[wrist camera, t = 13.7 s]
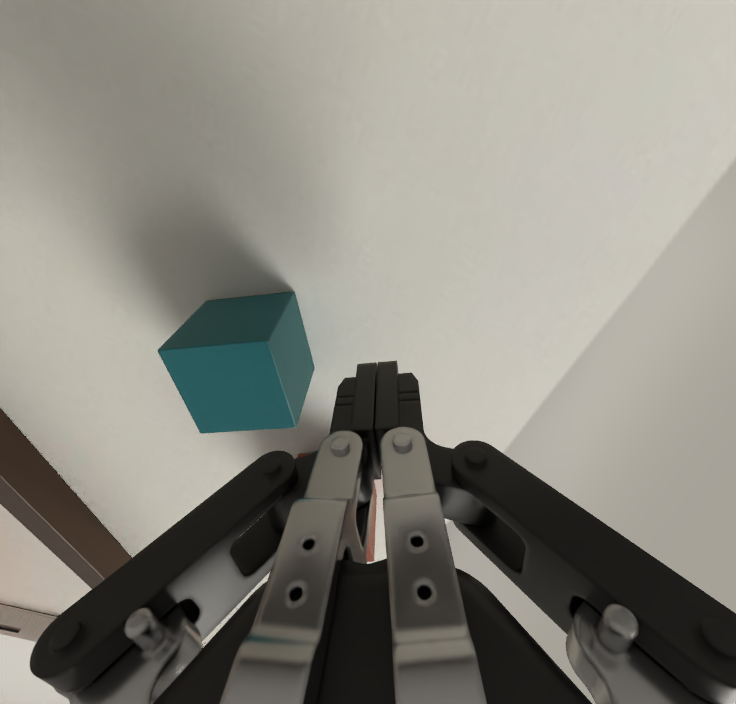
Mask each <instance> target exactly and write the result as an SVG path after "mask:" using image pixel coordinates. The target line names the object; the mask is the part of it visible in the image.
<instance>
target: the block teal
mask: <svg viewBox="0 0 736 704" xmlns="http://www.w3.org/2000/svg"><path fill="white" fill-rule="evenodd" d="M158 353H159V355H160V356H161V358H162V360H163V362H164V364H165V366H166V368H167V370H168V372H169V374H170V376H171V377H172V379H173V381H174V383H175V385H176V387H177V389H178V391H179V393H180V395H181V397H182V399H183V400H184V402H185V404H186V406H187V408H188V410H189V412H190V414H191V416H192V418H193V420H194V421H195V423H196V425H197V427H198V429H199V431H200V433H214V432H231V431H247V430H264V429H280V428H295V427H297V424H298V420H299V417H300V414H301V411H302V407H303V404H304V401H305V397H306V394H307V391H308V387H309V384H310V381H311V378H312V374H313V371H314V364H313V361H312V357H311V353H310V349H309V345H308V341H307V338H306V334H305V330H304V326H303V322H302V318H301V315H300V311H299V307H298V303H297V299H296V295H295V292H286V293H276V294H267V295H257V296H248V297H238V298H229V299H219V300H210V301H205V302H204V303H203V304H202V306H201V307H200V308H199V309H198V310H197V311H196V312H195V313H194V314H193V315H192V316H191V317H190V318H189V319H188V320H187V321H186V322H185V323H184V324H183V325H182V326H181V327H180V328H179V329H178V330H177V331H176V332H175V333H174V334H173V335H172V336H171V337H170V338H169V339H168V340H167V341H166V342H165V343H164V344H163V345H162V346H161V347H160V348H159V349H158Z"/></svg>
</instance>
